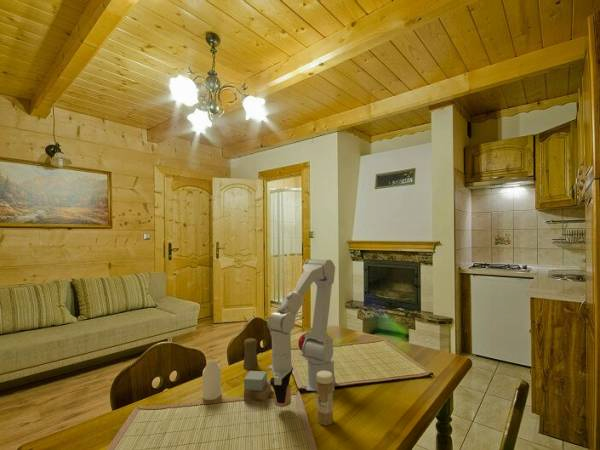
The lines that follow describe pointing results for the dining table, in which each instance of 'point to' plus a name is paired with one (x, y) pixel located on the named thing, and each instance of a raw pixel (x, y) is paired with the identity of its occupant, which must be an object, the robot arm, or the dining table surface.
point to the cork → (250, 354)
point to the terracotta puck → (287, 399)
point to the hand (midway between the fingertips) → (282, 397)
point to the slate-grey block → (255, 380)
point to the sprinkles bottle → (325, 397)
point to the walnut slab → (258, 394)
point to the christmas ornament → (302, 340)
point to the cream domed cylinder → (211, 381)
